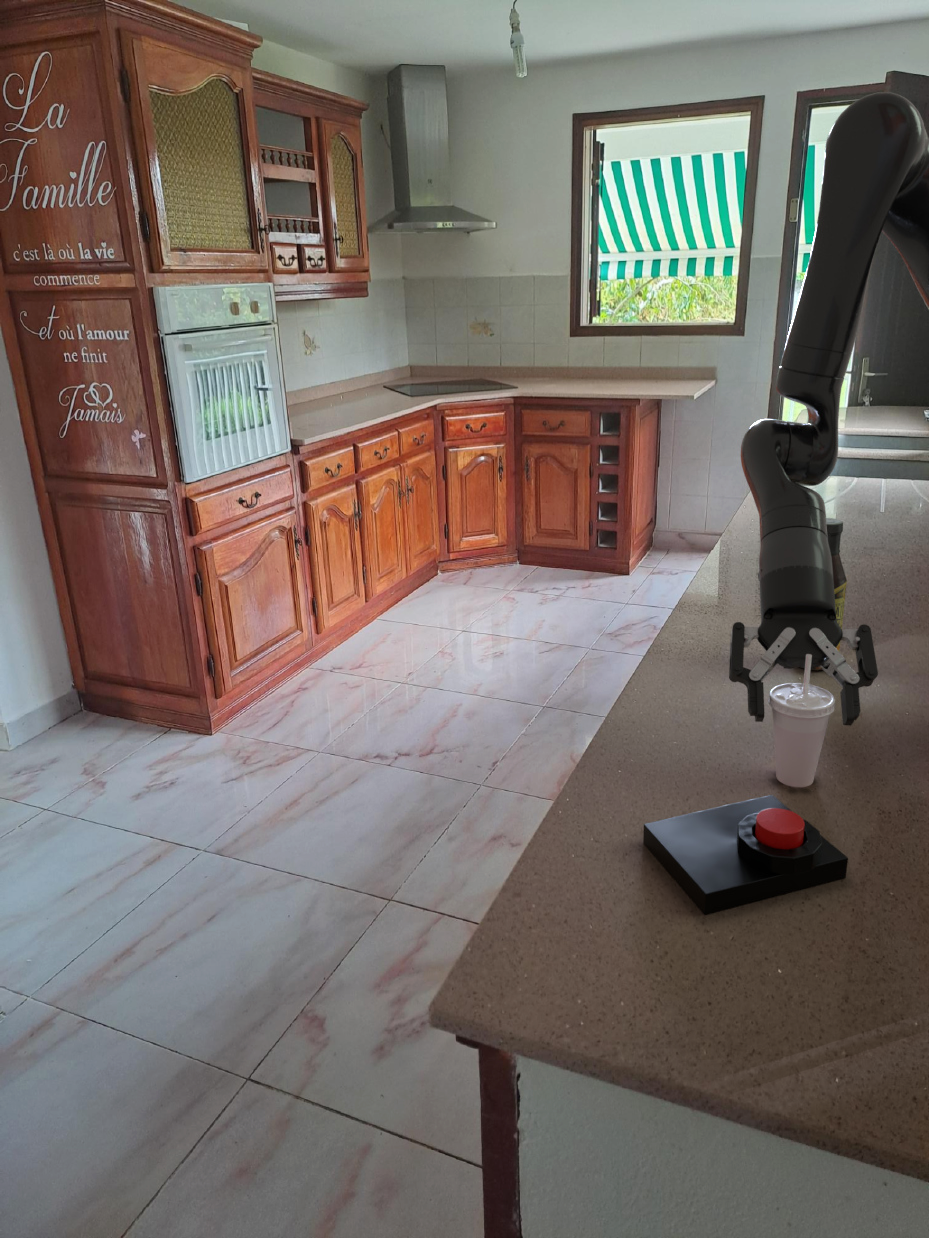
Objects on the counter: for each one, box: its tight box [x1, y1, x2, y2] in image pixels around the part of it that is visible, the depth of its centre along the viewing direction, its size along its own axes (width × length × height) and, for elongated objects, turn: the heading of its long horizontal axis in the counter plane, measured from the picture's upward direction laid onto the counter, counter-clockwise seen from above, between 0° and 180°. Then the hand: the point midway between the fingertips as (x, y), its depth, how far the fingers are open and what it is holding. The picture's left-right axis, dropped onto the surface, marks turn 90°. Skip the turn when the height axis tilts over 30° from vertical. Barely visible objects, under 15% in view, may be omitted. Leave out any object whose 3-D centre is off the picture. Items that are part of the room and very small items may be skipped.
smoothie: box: [768, 654, 836, 788], centre depth 91 cm, size 6×6×14 cm
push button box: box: [642, 794, 849, 916], centre depth 80 cm, size 14×12×4 cm
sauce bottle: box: [810, 517, 848, 671], centre depth 117 cm, size 6×6×20 cm
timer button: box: [755, 808, 805, 850], centre depth 77 cm, size 4×4×2 cm
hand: (804, 721), depth 89 cm, fingers open, 8 cm apart
